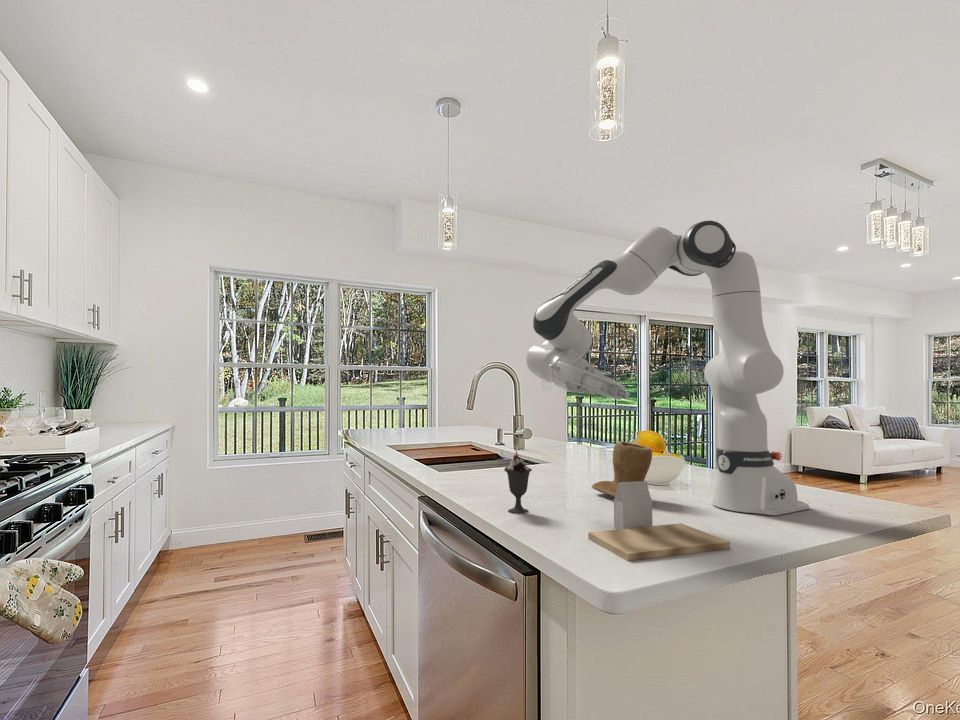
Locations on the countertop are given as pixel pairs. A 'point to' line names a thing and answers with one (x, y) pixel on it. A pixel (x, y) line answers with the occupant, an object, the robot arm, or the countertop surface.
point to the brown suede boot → (626, 466)
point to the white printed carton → (632, 505)
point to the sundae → (518, 481)
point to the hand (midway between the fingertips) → (615, 391)
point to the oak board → (657, 541)
